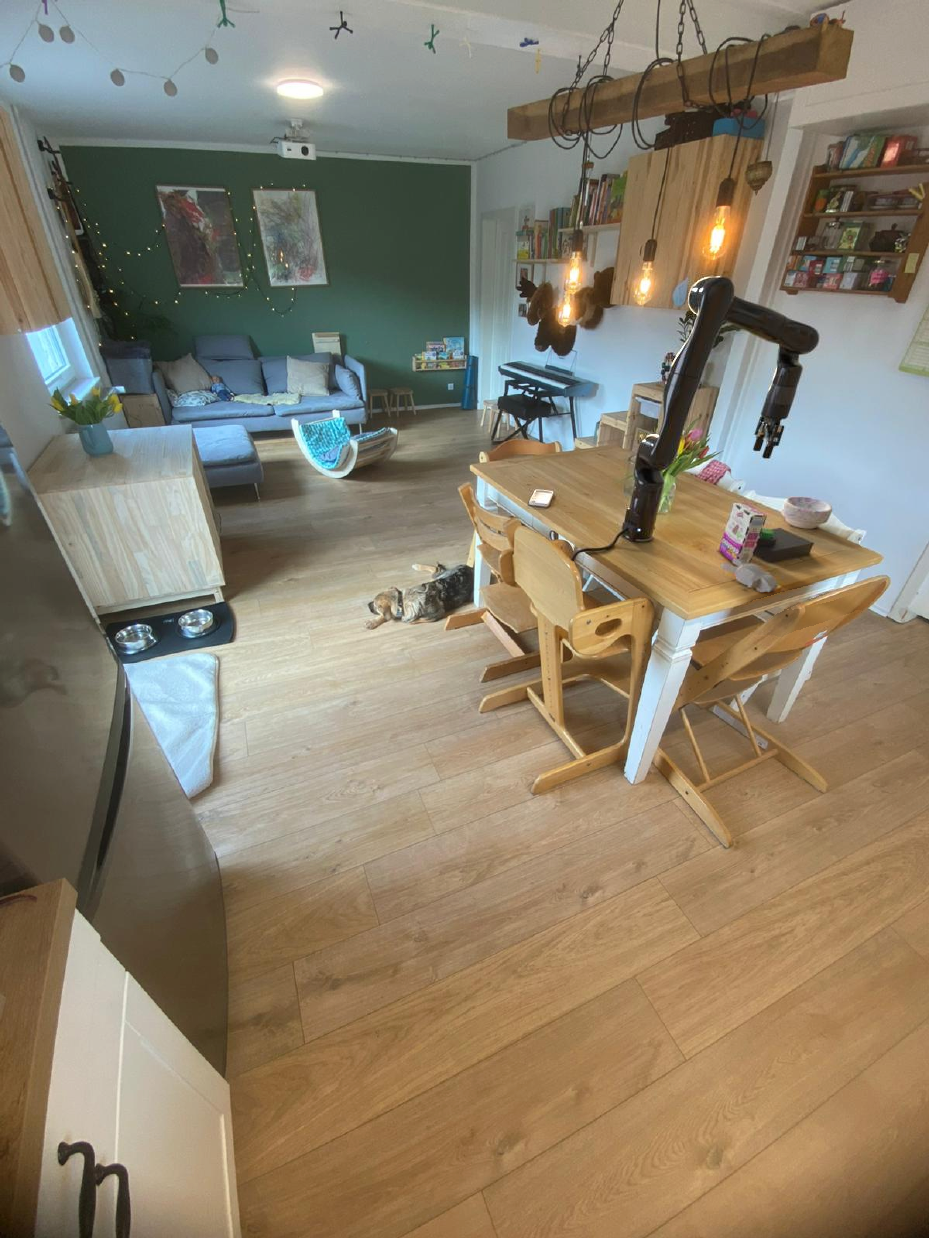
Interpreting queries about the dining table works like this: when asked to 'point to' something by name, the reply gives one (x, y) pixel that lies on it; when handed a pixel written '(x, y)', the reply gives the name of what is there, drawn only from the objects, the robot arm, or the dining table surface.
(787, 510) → the paper bowls
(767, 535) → the button
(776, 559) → the black button box
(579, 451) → the dining table surface
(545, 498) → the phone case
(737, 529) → the candy bar box
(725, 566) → the bunny figurine
